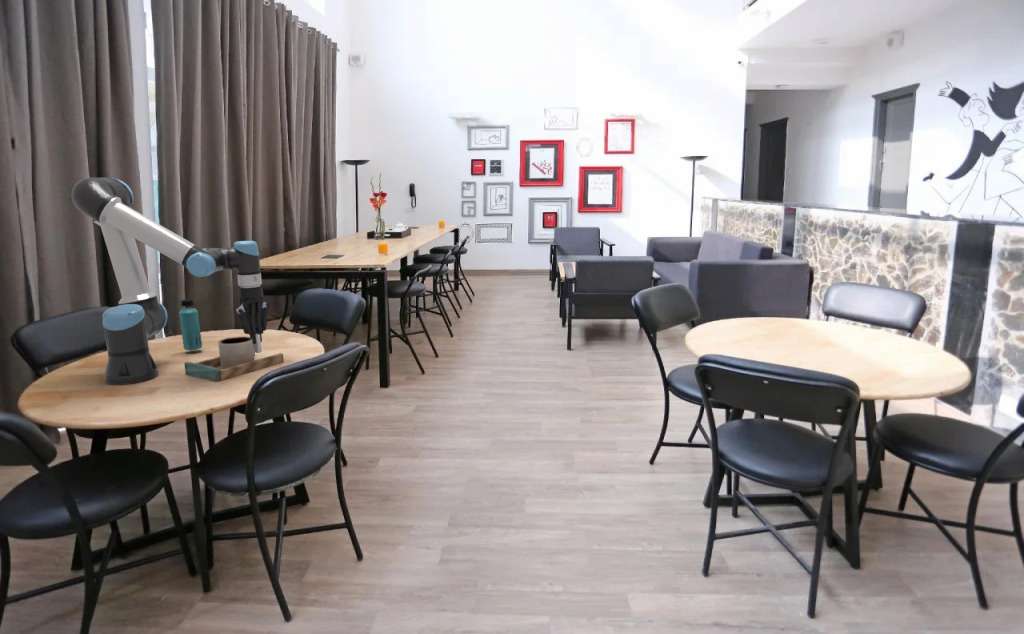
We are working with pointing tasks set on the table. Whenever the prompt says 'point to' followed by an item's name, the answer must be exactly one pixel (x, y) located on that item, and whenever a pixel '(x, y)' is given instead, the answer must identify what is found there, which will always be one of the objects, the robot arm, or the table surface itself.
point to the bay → (210, 371)
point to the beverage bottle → (190, 326)
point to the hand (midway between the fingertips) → (257, 352)
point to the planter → (235, 351)
